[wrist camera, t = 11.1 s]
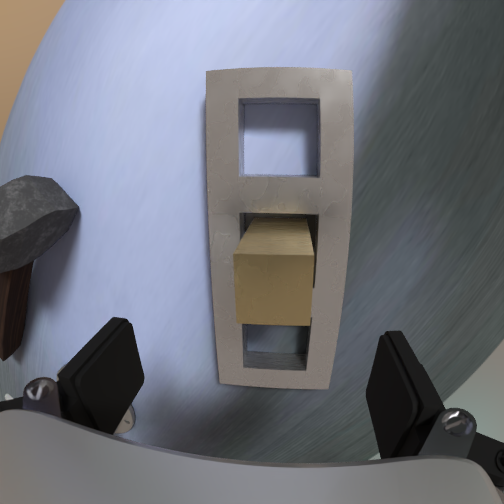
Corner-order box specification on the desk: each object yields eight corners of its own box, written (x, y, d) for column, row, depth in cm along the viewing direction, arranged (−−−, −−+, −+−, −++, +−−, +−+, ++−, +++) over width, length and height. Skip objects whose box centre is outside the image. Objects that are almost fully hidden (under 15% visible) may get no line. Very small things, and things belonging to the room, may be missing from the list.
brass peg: (304, 266, 24) (310, 325, 16) (255, 265, 25) (236, 323, 16) (306, 217, 23) (314, 255, 15) (254, 217, 24) (233, 253, 15)
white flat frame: (326, 372, 27) (328, 389, 25) (225, 366, 29) (219, 383, 26) (345, 79, 19) (351, 70, 17) (214, 79, 20) (206, 71, 18)
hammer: (37, 338, 37) (90, 195, 24) (-6, 380, 27) (-6, 241, 14) (18, 317, 37) (61, 164, 24) (-26, 355, 27) (-34, 197, 14)
